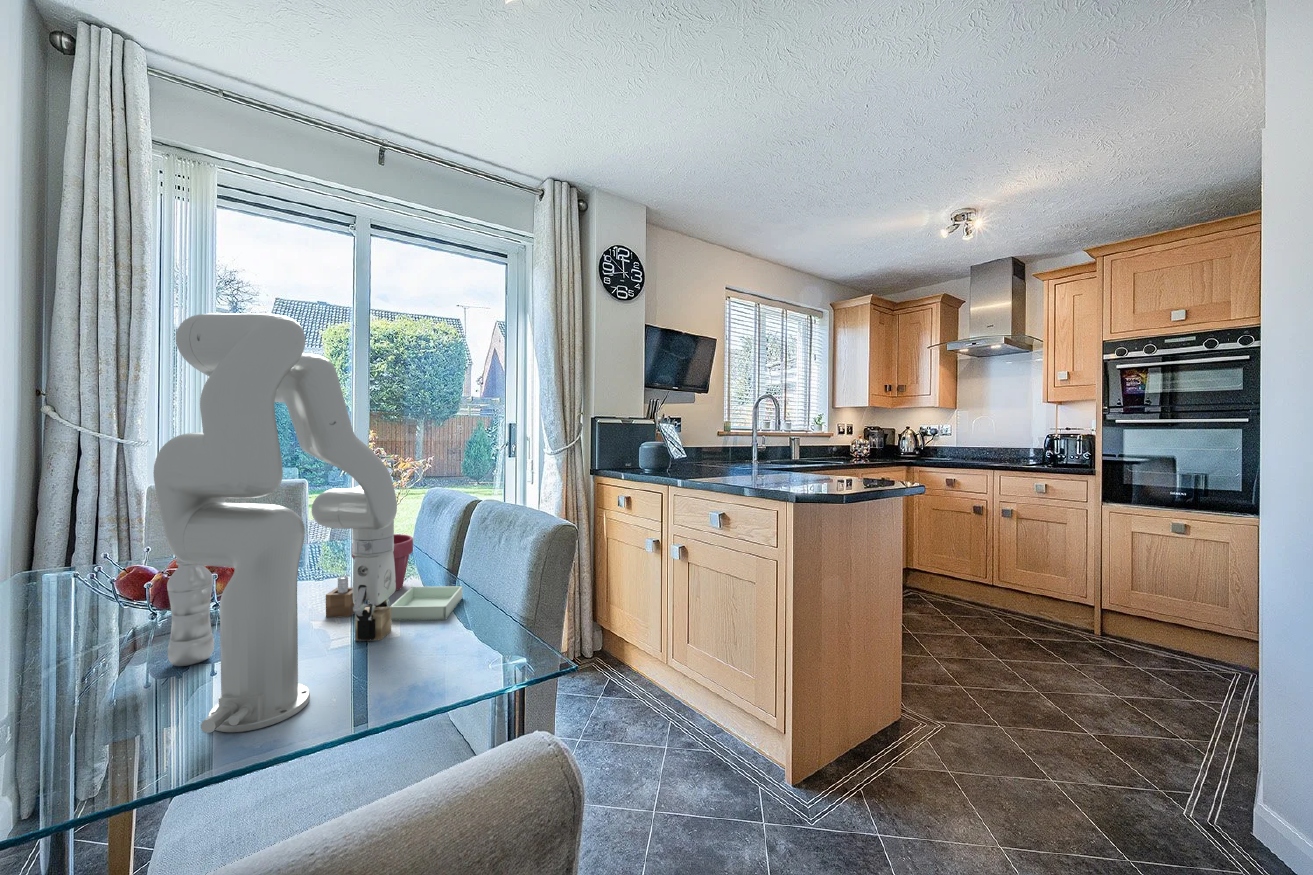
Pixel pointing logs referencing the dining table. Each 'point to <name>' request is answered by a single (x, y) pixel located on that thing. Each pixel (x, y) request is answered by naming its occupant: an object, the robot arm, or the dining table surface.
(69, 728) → the dining table surface
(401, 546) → the plant pot
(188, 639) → the plastic bottle
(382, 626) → the oak block
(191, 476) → the robot arm
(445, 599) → the tray
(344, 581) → the pin
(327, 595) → the walnut block
